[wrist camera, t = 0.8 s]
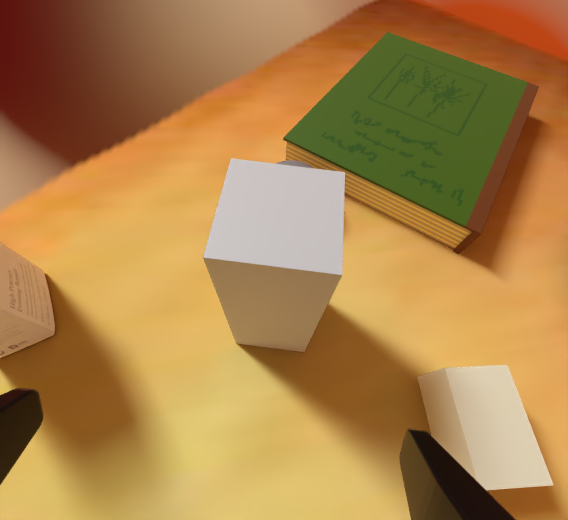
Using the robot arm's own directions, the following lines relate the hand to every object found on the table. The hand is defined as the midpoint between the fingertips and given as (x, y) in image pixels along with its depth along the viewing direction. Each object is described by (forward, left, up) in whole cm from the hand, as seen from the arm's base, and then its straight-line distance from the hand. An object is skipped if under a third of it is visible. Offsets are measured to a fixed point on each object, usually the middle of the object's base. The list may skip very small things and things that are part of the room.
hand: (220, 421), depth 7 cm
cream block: (-1, -14, -14) cm, 20 cm away
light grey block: (+7, -2, -14) cm, 16 cm away
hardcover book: (+28, -18, -15) cm, 37 cm away
